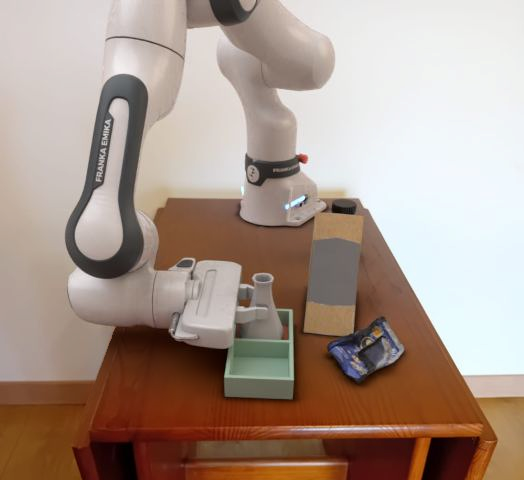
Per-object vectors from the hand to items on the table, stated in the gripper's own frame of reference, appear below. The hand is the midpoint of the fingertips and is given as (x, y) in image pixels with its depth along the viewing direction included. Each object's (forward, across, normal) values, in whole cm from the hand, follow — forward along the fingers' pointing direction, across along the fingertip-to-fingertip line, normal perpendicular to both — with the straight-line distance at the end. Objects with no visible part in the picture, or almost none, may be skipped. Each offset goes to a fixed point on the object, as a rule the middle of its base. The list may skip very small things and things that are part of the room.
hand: (268, 303), depth 82 cm
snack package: (+15, -4, +7) cm, 18 cm away
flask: (-1, 0, +6) cm, 6 cm away
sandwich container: (+11, +10, +7) cm, 17 cm away
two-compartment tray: (-1, -4, +7) cm, 8 cm away
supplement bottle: (+14, +31, +7) cm, 35 cm away
